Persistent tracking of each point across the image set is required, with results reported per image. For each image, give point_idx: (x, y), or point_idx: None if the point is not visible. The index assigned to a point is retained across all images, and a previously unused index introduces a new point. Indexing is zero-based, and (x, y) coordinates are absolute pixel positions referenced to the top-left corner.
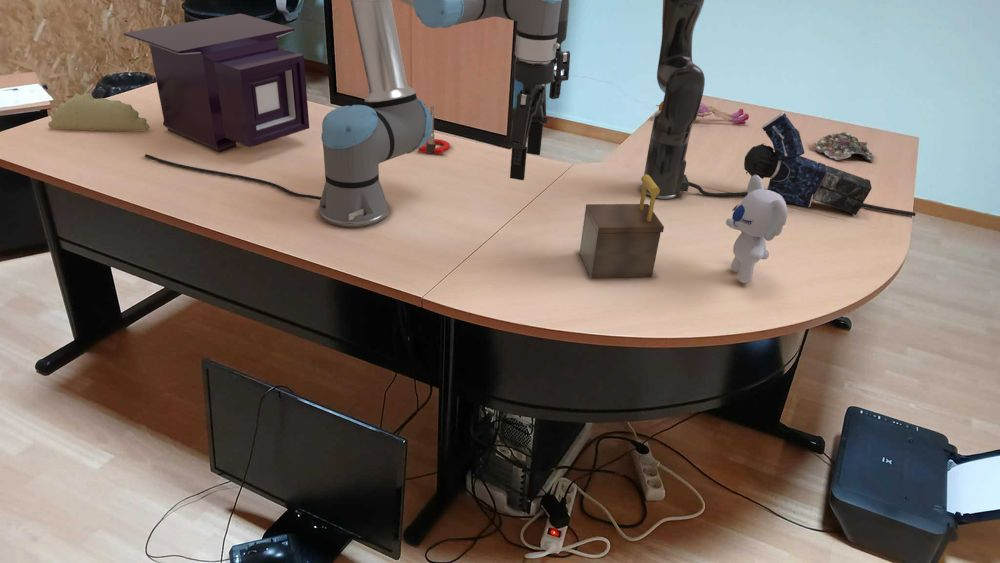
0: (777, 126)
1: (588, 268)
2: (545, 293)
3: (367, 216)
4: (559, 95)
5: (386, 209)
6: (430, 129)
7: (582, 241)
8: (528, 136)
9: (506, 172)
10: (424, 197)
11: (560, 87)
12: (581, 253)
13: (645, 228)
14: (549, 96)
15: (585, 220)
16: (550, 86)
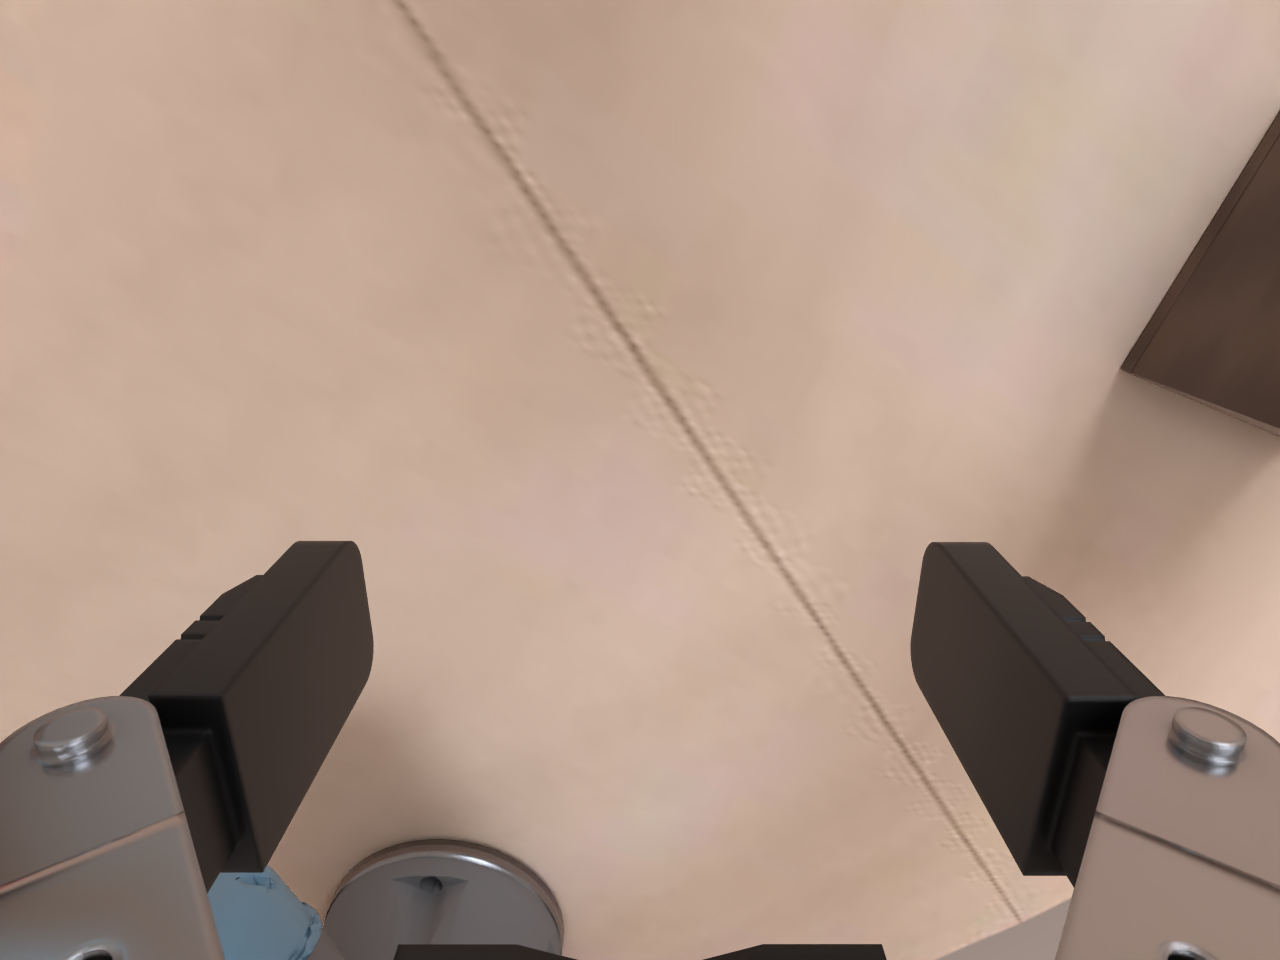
0: None
1: (1261, 428)
2: (1245, 636)
3: (557, 953)
4: (1045, 589)
5: (505, 876)
6: (252, 941)
7: (1185, 394)
8: None
9: (212, 224)
10: (398, 696)
11: (1133, 670)
12: (1157, 384)
13: None
14: (924, 683)
15: (1272, 427)
16: (994, 799)
